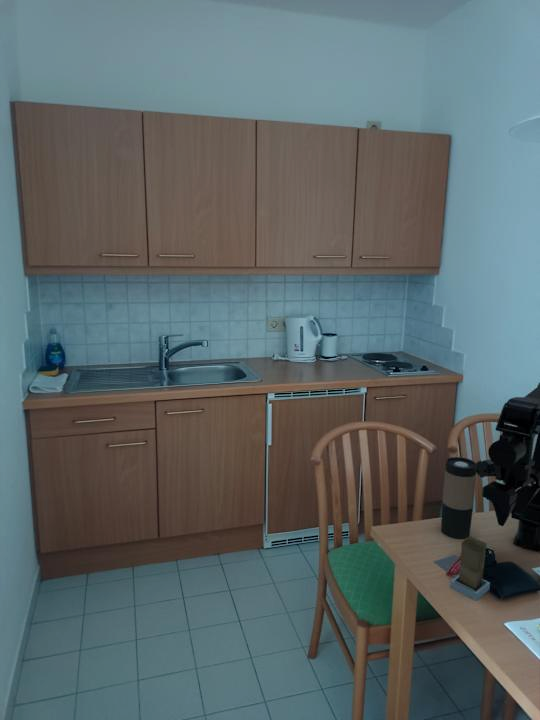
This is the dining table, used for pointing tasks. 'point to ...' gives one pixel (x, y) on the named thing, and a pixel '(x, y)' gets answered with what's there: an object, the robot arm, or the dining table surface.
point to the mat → (447, 563)
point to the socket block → (469, 591)
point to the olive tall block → (472, 563)
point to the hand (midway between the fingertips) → (510, 519)
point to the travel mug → (458, 497)
